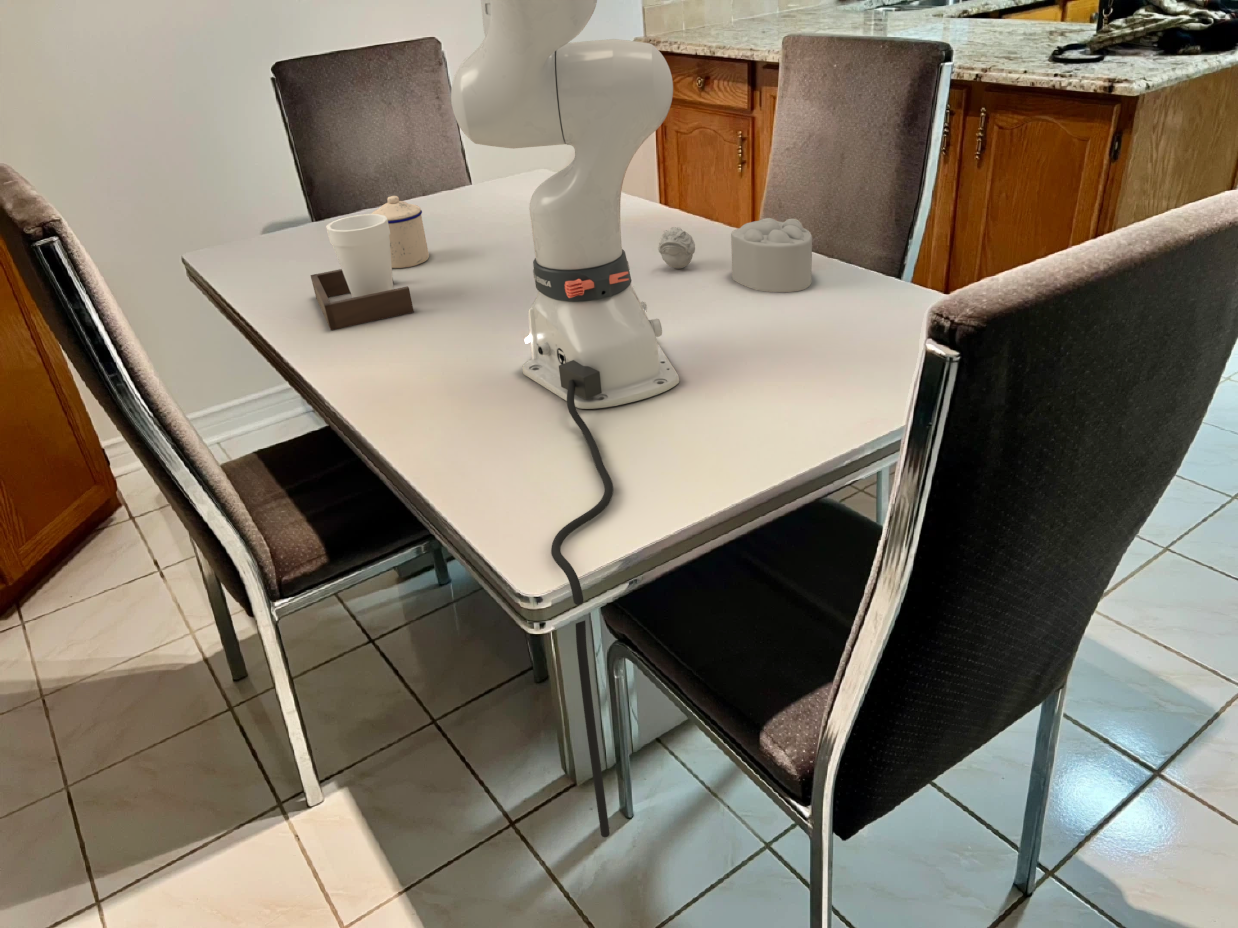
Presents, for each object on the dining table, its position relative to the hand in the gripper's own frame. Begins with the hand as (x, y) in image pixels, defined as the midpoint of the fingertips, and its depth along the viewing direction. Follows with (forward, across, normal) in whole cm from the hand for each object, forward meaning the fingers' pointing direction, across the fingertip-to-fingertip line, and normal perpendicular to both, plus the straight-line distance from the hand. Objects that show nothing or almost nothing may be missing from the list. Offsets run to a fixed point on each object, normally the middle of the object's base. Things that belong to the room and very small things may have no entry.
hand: (519, 78), depth 142 cm
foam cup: (+31, -6, -28) cm, 42 cm away
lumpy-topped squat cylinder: (+31, +24, +30) cm, 50 cm away
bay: (+31, -5, -29) cm, 43 cm away
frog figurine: (+31, +10, +20) cm, 38 cm away
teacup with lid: (+31, -24, -20) cm, 44 cm away
